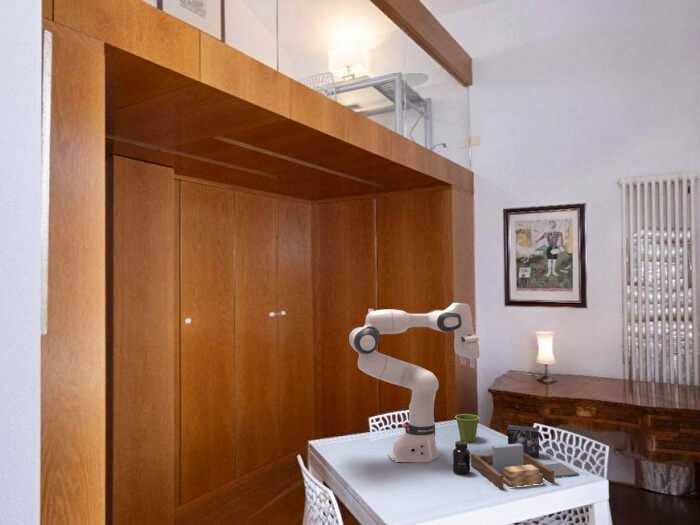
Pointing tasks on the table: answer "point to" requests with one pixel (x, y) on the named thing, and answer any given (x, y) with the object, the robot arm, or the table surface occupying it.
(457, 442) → the supplement bottle
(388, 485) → the table surface
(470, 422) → the plant pot
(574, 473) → the charcoal mat
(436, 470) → the table surface
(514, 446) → the gray block
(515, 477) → the offcut stack
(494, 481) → the walnut rack
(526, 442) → the small box
